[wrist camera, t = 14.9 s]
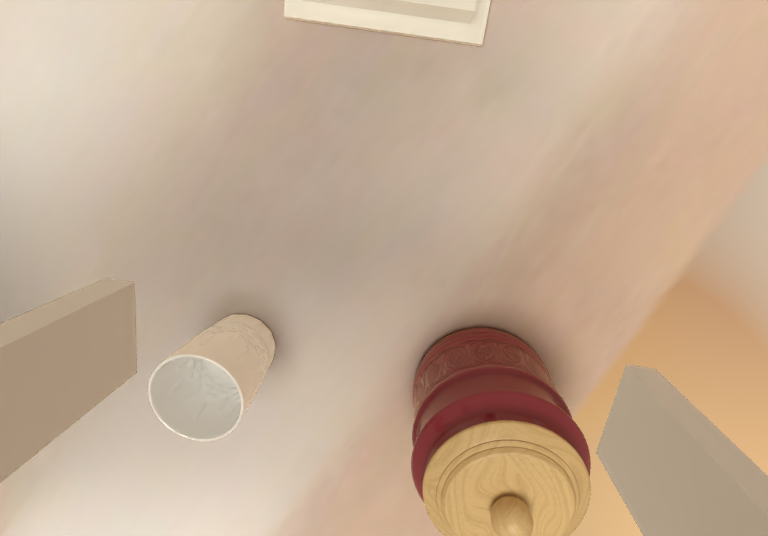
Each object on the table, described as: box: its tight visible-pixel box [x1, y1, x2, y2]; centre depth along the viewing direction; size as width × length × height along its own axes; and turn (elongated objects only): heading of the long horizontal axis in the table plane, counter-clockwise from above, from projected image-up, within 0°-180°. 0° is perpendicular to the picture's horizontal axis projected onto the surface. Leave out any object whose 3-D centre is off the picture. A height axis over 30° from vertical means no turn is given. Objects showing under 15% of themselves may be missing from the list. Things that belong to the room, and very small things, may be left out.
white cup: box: [148, 314, 276, 441], centre depth 39 cm, size 8×8×10 cm
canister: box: [411, 328, 591, 536], centre depth 35 cm, size 13×13×18 cm
